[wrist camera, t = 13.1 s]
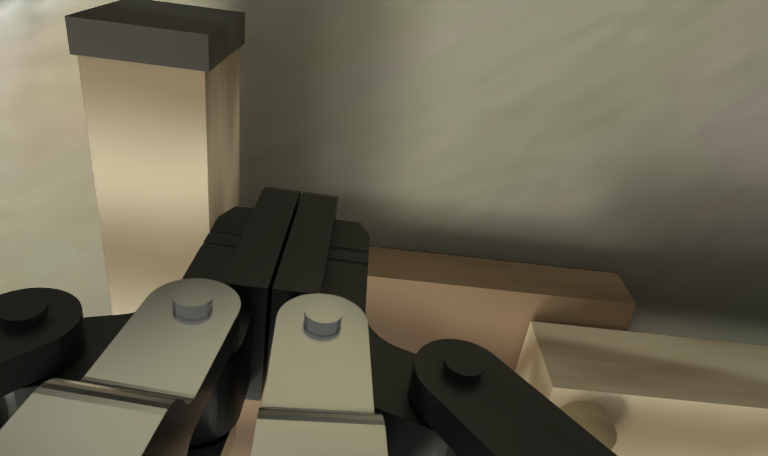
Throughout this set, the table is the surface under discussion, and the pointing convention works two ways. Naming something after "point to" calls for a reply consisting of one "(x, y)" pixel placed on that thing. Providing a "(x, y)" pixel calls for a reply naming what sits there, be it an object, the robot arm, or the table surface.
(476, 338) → the stool seat
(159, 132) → the stool leg
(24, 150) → the table surface
